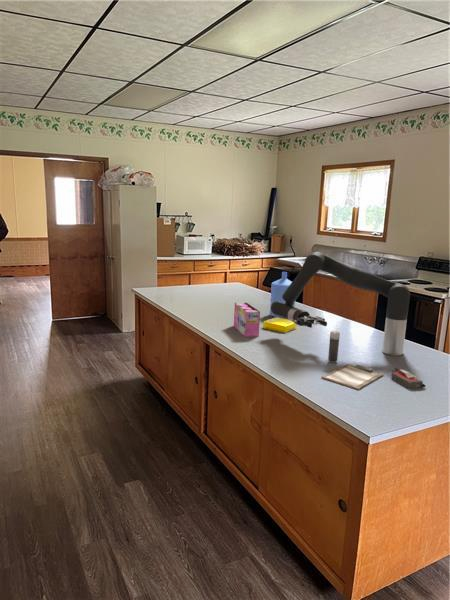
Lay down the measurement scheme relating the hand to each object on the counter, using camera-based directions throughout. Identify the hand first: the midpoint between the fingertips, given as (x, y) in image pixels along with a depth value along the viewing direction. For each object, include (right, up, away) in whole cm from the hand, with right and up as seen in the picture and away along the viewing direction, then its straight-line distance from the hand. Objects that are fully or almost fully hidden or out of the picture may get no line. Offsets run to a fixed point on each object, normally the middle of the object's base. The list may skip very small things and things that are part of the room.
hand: (318, 324), depth 202 cm
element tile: (-12, -5, +47) cm, 49 cm away
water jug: (-7, +1, +76) cm, 77 cm away
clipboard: (+9, -20, -24) cm, 32 cm away
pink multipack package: (-32, -6, +39) cm, 51 cm away
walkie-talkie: (+29, -21, -25) cm, 44 cm away
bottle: (+5, -16, -7) cm, 18 cm away
